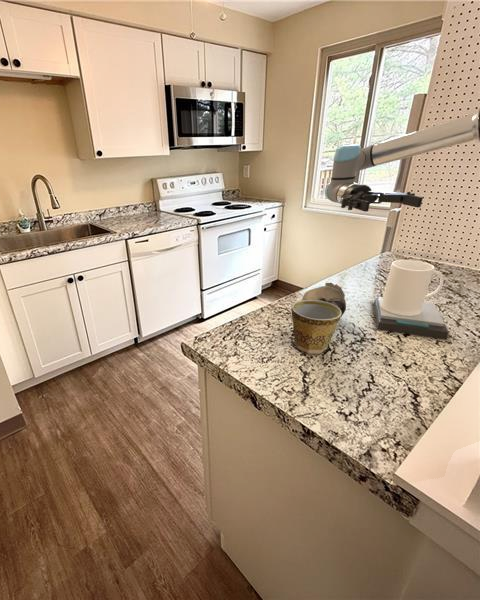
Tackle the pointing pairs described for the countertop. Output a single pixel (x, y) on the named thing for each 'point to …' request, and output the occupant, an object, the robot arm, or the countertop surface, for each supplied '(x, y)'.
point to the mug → (408, 287)
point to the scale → (412, 321)
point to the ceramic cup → (314, 324)
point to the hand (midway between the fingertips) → (393, 204)
